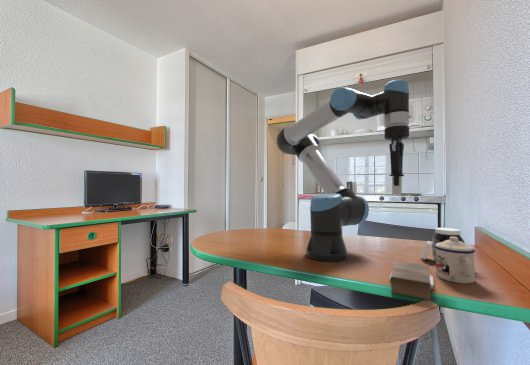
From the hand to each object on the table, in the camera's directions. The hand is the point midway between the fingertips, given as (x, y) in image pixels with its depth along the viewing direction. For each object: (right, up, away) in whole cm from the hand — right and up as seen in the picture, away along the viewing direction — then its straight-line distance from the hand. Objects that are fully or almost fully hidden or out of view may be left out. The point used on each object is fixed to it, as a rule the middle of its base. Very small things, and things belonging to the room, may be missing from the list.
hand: (397, 195), depth 84 cm
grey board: (-5, -23, -16) cm, 28 cm away
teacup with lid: (+8, -23, -16) cm, 29 cm away
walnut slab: (-6, -19, -17) cm, 27 cm away
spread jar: (+15, -23, 0) cm, 28 cm away
